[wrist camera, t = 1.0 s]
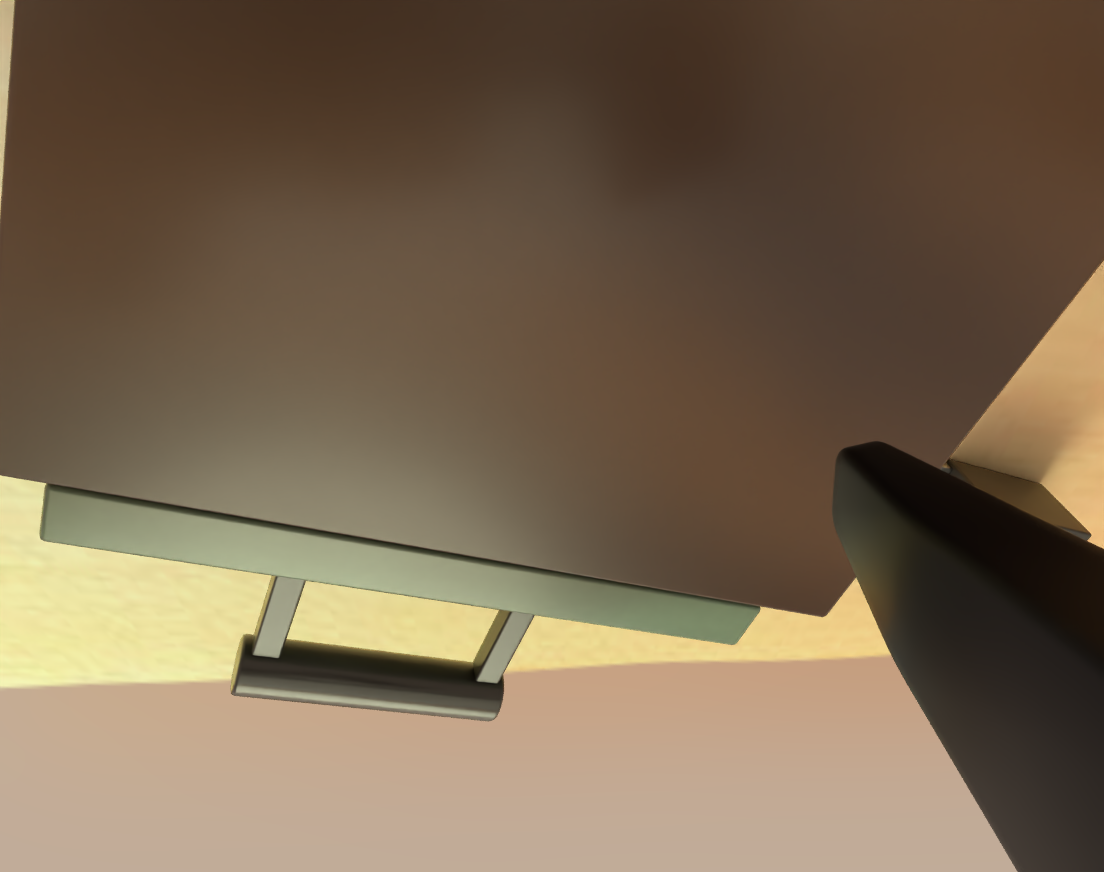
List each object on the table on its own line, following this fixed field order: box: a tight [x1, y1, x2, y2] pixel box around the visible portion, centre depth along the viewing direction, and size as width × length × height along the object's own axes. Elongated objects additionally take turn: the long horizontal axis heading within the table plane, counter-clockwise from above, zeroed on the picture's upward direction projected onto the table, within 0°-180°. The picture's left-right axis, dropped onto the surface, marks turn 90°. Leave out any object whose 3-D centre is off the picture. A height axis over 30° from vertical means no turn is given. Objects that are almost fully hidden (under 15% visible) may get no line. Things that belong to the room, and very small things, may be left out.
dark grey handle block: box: [940, 460, 1091, 541], centre depth 27 cm, size 9×2×3 cm, turn 67°
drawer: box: [40, 483, 760, 721], centre depth 17 cm, size 18×13×7 cm
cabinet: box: [0, 0, 1104, 617], centre depth 14 cm, size 14×15×9 cm
